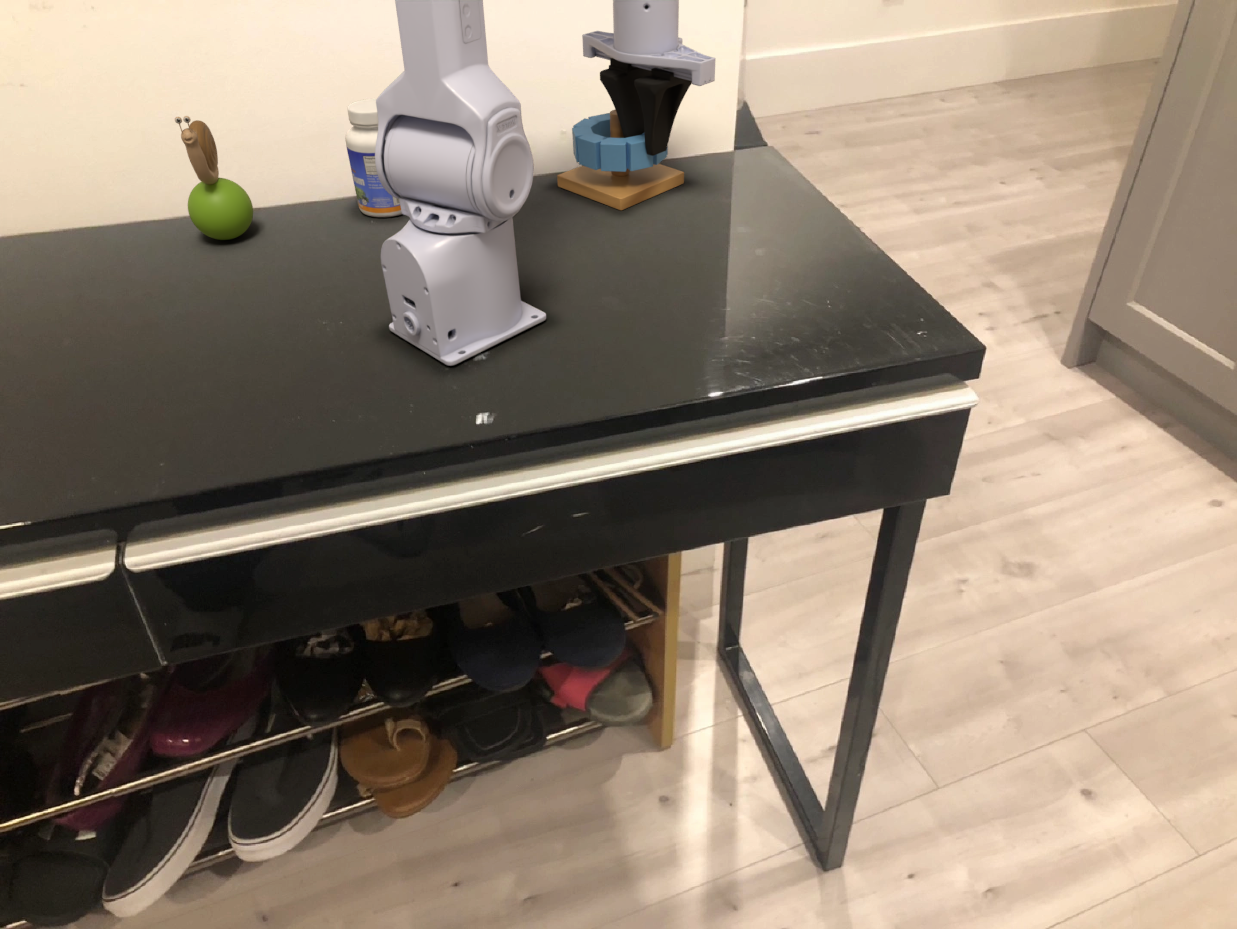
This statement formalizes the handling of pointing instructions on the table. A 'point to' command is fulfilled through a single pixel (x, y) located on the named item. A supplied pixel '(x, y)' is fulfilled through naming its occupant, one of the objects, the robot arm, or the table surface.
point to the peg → (620, 180)
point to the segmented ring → (610, 147)
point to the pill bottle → (367, 161)
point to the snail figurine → (213, 188)
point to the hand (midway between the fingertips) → (646, 148)
